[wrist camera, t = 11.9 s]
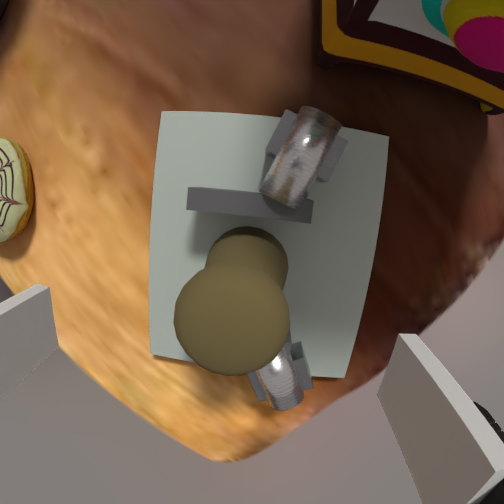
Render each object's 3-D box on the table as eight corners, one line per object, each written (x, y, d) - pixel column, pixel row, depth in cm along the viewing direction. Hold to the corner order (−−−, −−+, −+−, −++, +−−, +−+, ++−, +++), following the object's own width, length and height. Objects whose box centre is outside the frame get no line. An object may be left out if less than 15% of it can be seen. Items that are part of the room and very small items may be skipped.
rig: (154, 347, 26) (135, 375, 21) (167, 114, 22) (144, 99, 17) (341, 370, 25) (352, 402, 21) (383, 138, 21) (408, 128, 16)
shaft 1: (305, 213, 21) (313, 219, 17) (250, 185, 21) (244, 184, 17) (342, 140, 20) (358, 130, 16) (287, 112, 20) (290, 95, 16)
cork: (191, 272, 23) (130, 340, 12) (239, 209, 22) (208, 230, 11) (254, 320, 23) (241, 416, 13) (305, 260, 22) (334, 327, 11)
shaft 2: (241, 337, 24) (235, 365, 20) (294, 321, 23) (298, 348, 19) (260, 384, 25) (258, 416, 20) (310, 371, 24) (316, 402, 20)
